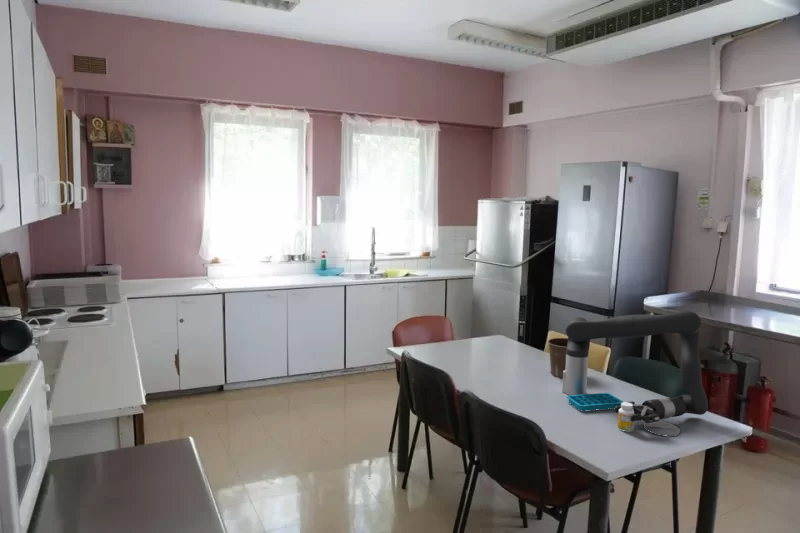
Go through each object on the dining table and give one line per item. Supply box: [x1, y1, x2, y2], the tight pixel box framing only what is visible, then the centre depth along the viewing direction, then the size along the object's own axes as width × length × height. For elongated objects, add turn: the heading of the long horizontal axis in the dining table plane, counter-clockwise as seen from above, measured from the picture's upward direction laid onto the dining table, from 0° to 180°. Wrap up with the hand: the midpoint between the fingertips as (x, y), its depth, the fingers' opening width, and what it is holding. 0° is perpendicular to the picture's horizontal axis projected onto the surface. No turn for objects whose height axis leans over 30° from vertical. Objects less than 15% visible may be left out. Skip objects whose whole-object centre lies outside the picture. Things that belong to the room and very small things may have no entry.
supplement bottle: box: [617, 401, 635, 432], centre depth 201 cm, size 5×5×10 cm
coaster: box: [643, 420, 681, 437], centre depth 201 cm, size 12×12×1 cm
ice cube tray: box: [566, 392, 624, 412], centre depth 224 cm, size 12×20×3 cm, turn 102°
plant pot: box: [547, 337, 568, 379], centre depth 262 cm, size 16×16×16 cm
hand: (623, 414), depth 200 cm, fingers open, 8 cm apart
